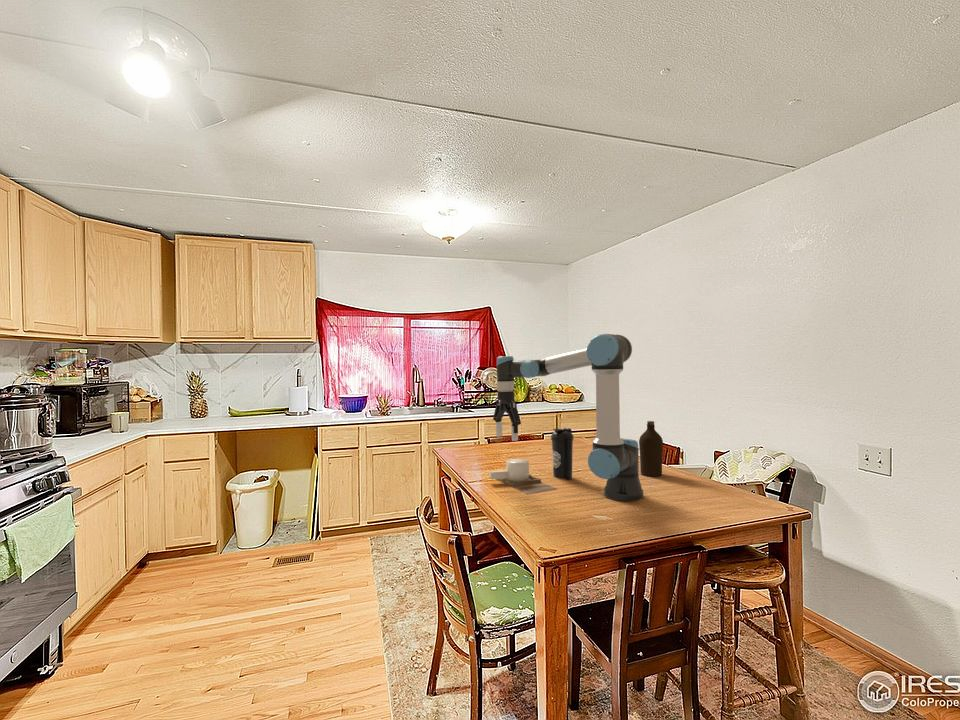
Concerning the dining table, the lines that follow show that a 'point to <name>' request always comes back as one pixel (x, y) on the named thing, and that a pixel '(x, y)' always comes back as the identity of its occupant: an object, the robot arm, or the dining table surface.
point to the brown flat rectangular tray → (529, 485)
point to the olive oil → (651, 452)
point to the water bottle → (562, 453)
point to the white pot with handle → (513, 471)
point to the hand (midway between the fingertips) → (506, 438)
